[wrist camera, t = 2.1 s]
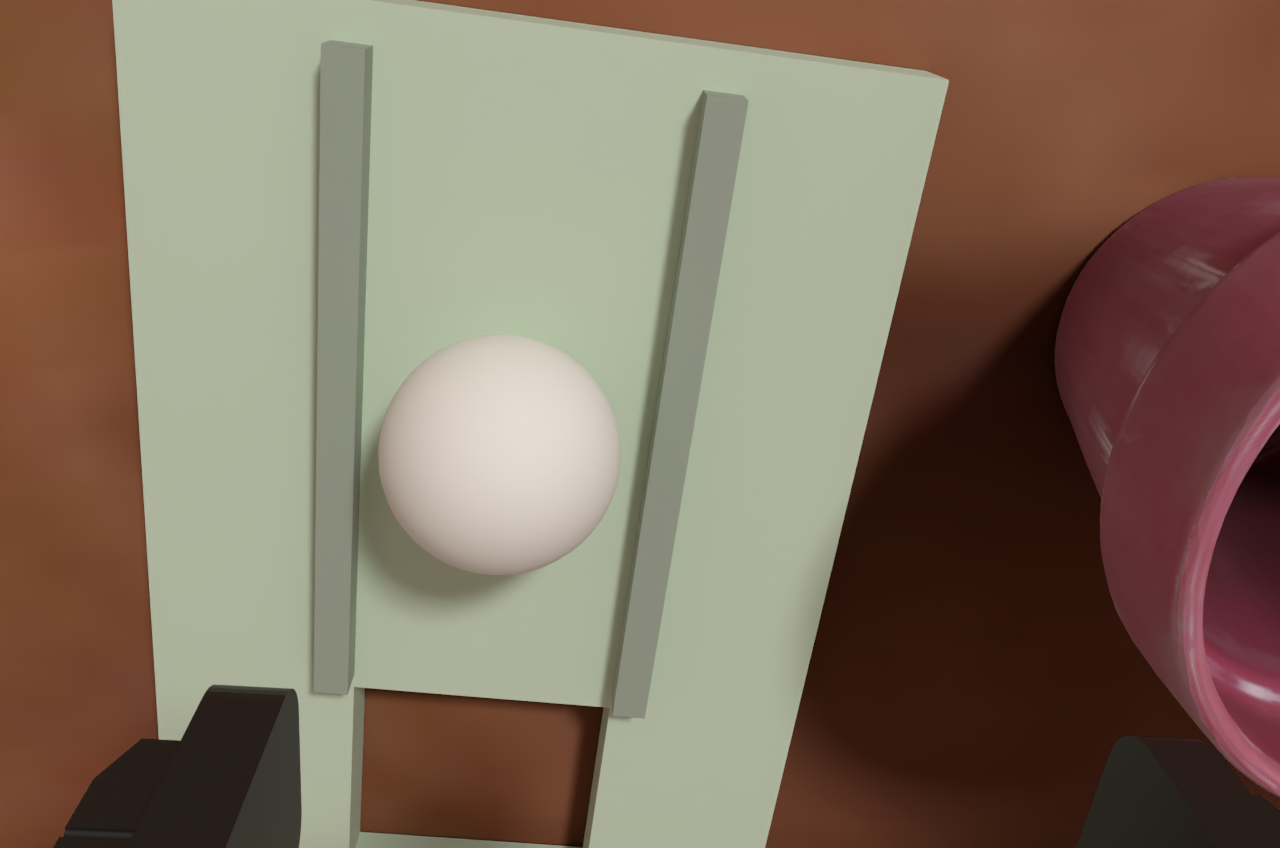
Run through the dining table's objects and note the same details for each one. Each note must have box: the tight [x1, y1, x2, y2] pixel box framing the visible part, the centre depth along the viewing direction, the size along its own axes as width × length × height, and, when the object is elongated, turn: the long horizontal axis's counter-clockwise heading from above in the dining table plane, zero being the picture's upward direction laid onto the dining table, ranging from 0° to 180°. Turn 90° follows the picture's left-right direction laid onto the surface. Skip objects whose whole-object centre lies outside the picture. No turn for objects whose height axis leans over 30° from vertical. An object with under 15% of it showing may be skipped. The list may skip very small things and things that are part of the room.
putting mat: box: [112, 0, 949, 848], centre depth 32 cm, size 32×20×3 cm, turn 172°
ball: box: [378, 335, 621, 575], centre depth 27 cm, size 6×6×6 cm
